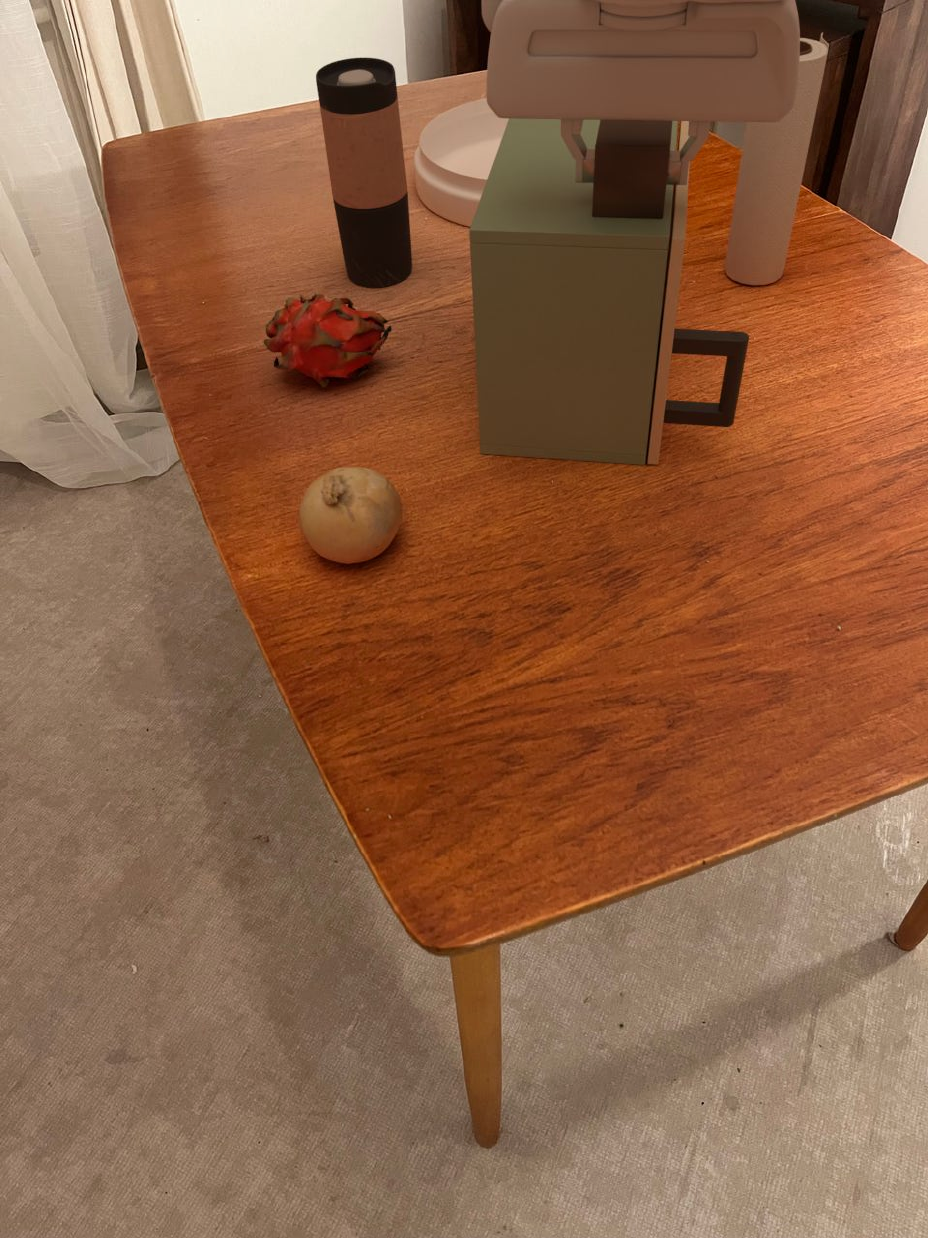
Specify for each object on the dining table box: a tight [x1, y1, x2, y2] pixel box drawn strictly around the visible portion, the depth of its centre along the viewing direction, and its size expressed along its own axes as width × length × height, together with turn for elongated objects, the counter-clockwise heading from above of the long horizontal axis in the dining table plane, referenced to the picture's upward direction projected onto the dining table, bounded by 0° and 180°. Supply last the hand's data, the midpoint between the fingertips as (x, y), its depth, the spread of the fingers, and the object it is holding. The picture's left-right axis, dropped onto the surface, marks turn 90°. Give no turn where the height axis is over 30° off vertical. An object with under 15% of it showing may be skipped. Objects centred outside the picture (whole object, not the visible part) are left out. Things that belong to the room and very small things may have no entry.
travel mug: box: [315, 57, 413, 288], centre depth 99 cm, size 8×8×20 cm
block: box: [592, 120, 673, 219], centre depth 69 cm, size 5×5×5 cm
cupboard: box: [468, 119, 679, 466], centre depth 84 cm, size 14×24×20 cm, turn 170°
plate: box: [413, 97, 509, 228], centre depth 117 cm, size 27×27×6 cm
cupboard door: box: [647, 121, 750, 465], centre depth 82 cm, size 7×24×20 cm, turn 170°
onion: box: [298, 466, 403, 565], centre depth 75 cm, size 8×8×7 cm
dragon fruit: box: [262, 293, 393, 388], centre depth 91 cm, size 8×8×12 cm
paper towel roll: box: [723, 32, 830, 286], centre depth 94 cm, size 7×6×21 cm
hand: (631, 180), depth 70 cm, fingers closed on block, 5 cm apart
